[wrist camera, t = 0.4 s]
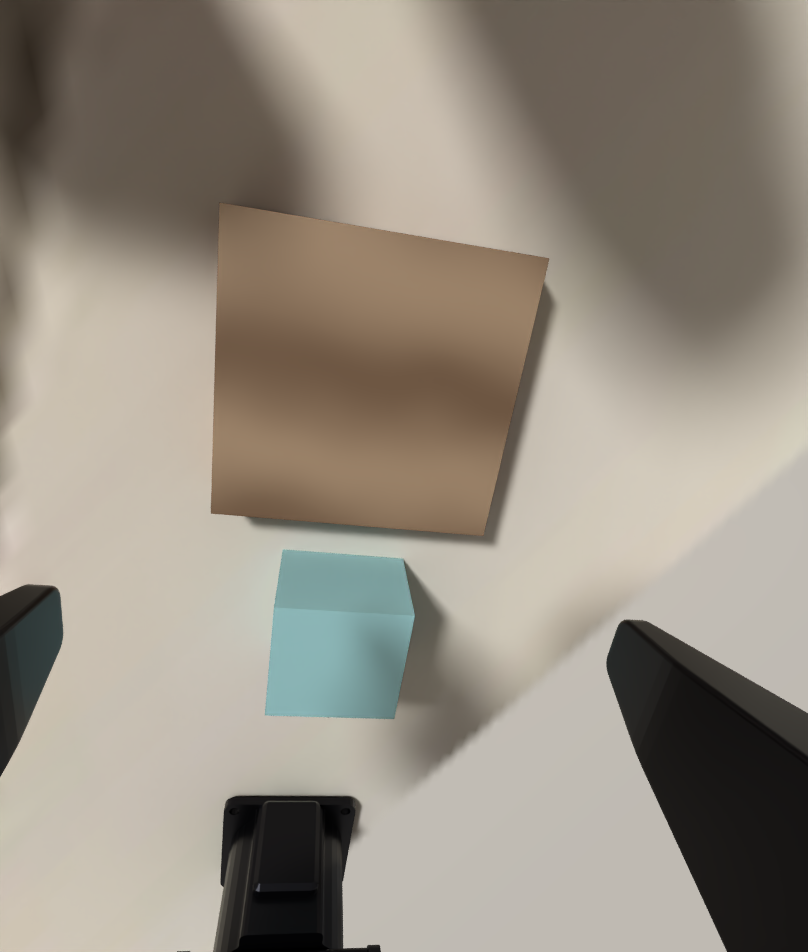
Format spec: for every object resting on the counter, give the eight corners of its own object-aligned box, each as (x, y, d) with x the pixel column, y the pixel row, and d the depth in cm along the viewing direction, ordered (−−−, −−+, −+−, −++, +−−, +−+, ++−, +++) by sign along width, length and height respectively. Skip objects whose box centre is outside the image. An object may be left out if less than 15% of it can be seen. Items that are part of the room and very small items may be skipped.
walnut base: (471, 511, 24) (483, 535, 22) (221, 489, 22) (210, 513, 20) (529, 255, 20) (549, 258, 18) (230, 204, 18) (219, 202, 16)
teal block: (385, 650, 26) (394, 719, 23) (274, 644, 25) (265, 715, 22) (402, 556, 24) (414, 615, 21) (283, 548, 23) (274, 607, 20)
